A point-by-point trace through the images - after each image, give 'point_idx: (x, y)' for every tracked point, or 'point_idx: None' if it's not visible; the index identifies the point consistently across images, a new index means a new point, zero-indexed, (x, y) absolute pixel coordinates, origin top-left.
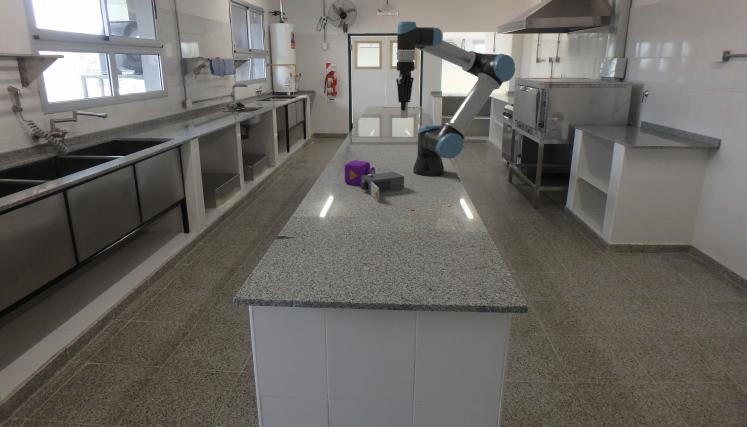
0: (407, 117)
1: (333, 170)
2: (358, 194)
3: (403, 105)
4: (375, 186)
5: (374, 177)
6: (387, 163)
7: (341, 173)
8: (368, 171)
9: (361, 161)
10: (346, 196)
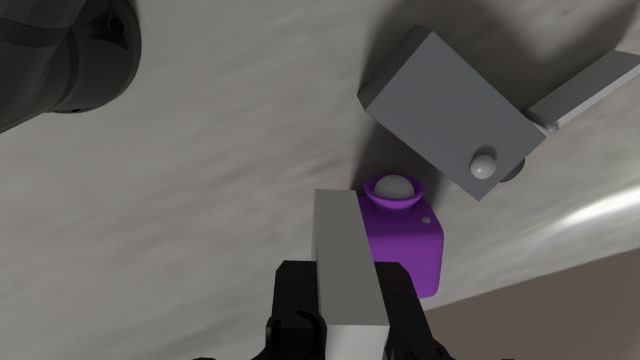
0: (318, 191)
1: None
2: (528, 156)
3: (422, 322)
4: (618, 85)
5: (493, 144)
6: (48, 251)
7: None
8: (415, 202)
9: None
10: (561, 179)
